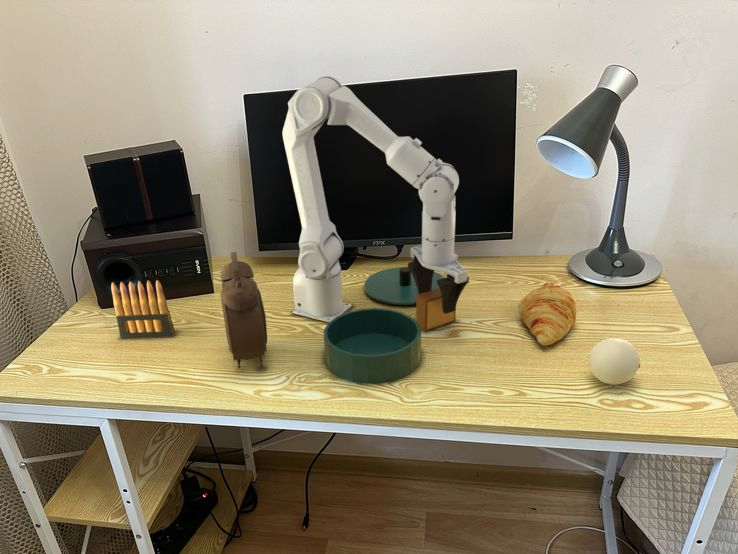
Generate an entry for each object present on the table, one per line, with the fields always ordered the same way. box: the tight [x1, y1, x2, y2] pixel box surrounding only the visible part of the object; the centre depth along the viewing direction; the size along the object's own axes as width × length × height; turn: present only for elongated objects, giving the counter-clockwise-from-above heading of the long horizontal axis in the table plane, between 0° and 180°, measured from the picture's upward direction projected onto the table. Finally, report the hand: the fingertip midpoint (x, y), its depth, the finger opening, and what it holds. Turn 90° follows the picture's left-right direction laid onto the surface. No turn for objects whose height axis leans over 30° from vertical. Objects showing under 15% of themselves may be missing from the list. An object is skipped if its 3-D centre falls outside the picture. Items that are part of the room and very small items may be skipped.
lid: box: [363, 266, 445, 306], centre depth 135 cm, size 17×17×4 cm
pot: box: [323, 307, 422, 384], centre depth 113 cm, size 17×17×5 cm
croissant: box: [517, 282, 577, 346], centre depth 118 cm, size 21×10×8 cm, turn 162°
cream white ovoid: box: [588, 337, 641, 386], centre depth 102 cm, size 10×7×7 cm
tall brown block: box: [415, 288, 457, 332], centre depth 121 cm, size 3×7×6 cm, turn 116°
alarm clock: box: [219, 251, 268, 370], centre depth 112 cm, size 14×7×20 cm, turn 9°
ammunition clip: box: [111, 279, 176, 340], centre depth 124 cm, size 11×2×12 cm, turn 86°
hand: (436, 303), depth 120 cm, fingers open, 7 cm apart
